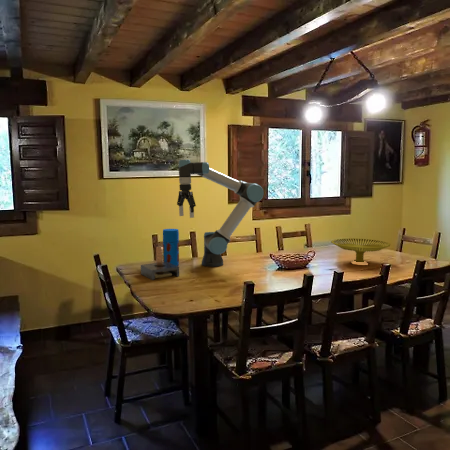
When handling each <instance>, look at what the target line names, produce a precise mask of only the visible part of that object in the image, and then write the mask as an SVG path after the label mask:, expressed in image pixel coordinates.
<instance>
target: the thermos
mask: <svg viewBox="0 0 450 450" xmlns="http://www.w3.org/2000/svg"><path fill="white" fill-rule="evenodd" d="M179 234H180V233H179V229H177V228H164V229H162V247H163V262H169V263H171V264H173V265H176V266H178V267H180V263H179V262H180V243H179V242H180V241H179V240H180V235H179Z"/></svg>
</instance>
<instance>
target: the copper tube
mask: <svg viewBox="0 0 450 450" xmlns="http://www.w3.org/2000/svg"><path fill="white" fill-rule="evenodd" d="M155 250H156V252H155V255H156V257H155V258H156V260H155V261H156V262H155V263H156V266H157V267H163V246H161V245H160V246H156V249H155ZM157 274H163V271H162V272H157Z"/></svg>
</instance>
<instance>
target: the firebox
mask: <svg viewBox="0 0 450 450" xmlns="http://www.w3.org/2000/svg"><path fill="white" fill-rule="evenodd" d="M162 271H163V274H157V272H162ZM140 275H142V276H144V277H146V278H147V279H150V281H155V280H156V279H158V278H159V279H160V278H169V277H172V276H175V277H180V266H176V265H173V264H171V263H169V262H163V267H157V266H156V262H154V263H153V262H152V263H145V264H140Z"/></svg>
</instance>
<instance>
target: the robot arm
mask: <svg viewBox="0 0 450 450" xmlns="http://www.w3.org/2000/svg"><path fill="white" fill-rule="evenodd" d="M192 175H197V176H199V177H202V178H204V179H206V180H208V181H211V182H213V183H215V184H217V185H220V186H222V187H224V188H226V189H229V190H230V191H233V193H234V194H236V195H239V201H238V202H237V204H236V205H235V207H234V208H233V209H232V211H231V212H230V214H229V215H228V217H227V218H226V220H225V221H224V223H223V224H222V225H221V226H220V228H218V229H217V230H215V231H209V232H208V231H206V232H204V233H203V234H204V235H203V257H202V259H201V266H204V267H211V268H213V267H215V268H217V267H221V266H224V259H223V256H222V254H224V253H225V252H226V251H227V248H228V245H229V243H230V242H231V236H232V235H233V233H234V232H235V231H236V229H237V228H238V226H239V225H240V224H241V222H242V221H243V219H244V218H245V217H246V215H247V213H248V212H249V210H250V209H251V208H254V207H255V206H256V204H257V203H258V202H260V201H261V200H262V199H263V198H264V193H265V192H264V189H263V187H262V186H261V185H259V184H258V183H253V182H252V183H251V182H246V181H243V180H237V179H235V178H232V177H230V176H228V175H227V174H225V173H222V172H219V171H217V170H215V169H213V168H211V167H210V164H209V162H206V161H201V162H200V161H199V162H198V161H196V162H191V159H179V160H178V177H179V179H178V182H179V186H178V187H179V191H178V197H177V202H176V205H177V206H178V212H179V213H178V214H179V217H184V202H185V200H186V201H187V203H188V205H189V219H192V218H195V207H197V205H196V201H195V197H194V194H193V191H192Z"/></svg>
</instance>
